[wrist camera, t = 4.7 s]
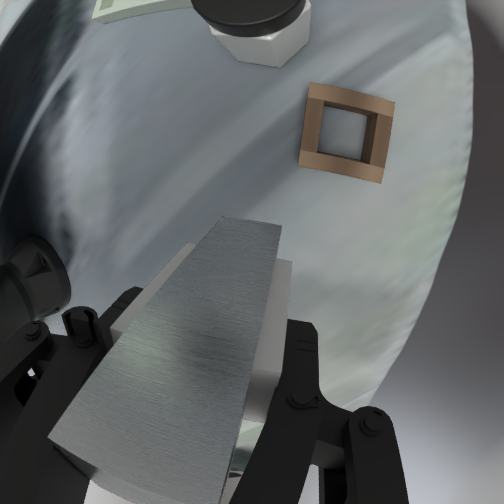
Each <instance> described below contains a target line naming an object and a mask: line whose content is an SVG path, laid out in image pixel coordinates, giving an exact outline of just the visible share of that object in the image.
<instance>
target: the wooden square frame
mask: <svg viewBox="0 0 504 504" xmlns="http://www.w3.org/2000/svg"><path fill="white" fill-rule="evenodd" d="M394 105H395V102H392V101H388V100H385V99H382V98H378V97H375V96H371V95H367V94H364V93H360V92H356V91H351V90H347V89H343V88H338V87H333V86H329V85H323V84H318V83H312V82H310V83H309V89H308V96H307V104H306V111H305V118H304V125H303V132H302V139H301V146H300V152H299V159H298V166H300V167H306V168H311V169H316V170H322V171H327V172H332V173H336V174H341V175H346V176H350V177H355V178H359V179H363V180H367V181H372V182H376V183H380V184H381V182H382V178H383V173H384V168H385V163H386V157H387V152H388V146H389V140H390V134H391V127H392V120H393V113H394ZM324 106H328V107H333V108H338V109H342V110H347V111H351V112H355V113H359V114H363V115H367V116H368V118H367V125H366V132H365V138H364V144H363V150H362V156H361V161H360V160H356V159H351V158H347V157H342V156H338V155H333V154H328V153H323V152H318V151H317V148H318V142H319V135H320V128H321V121H322V114H323V107H324Z"/></svg>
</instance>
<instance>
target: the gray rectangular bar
mask: <svg viewBox="0 0 504 504" xmlns="http://www.w3.org/2000/svg"><path fill="white" fill-rule="evenodd" d="M281 229H282V226H281V225H275V224H269V223H263V222H257V221H251V220H245V219H239V218H233V217H227V216H222V217H221V218H220V219H219V220H218V222H217V223H216V224H215V225H214V226H213V227H212V228H211V229H210V230H209V232H208V233H207V234H206V235H205V236H204V237H203V238H202V239H201V241H200V242H199V243H198V244H197V245H196V246H195V247H194V249H193V250H192V251H191V252H190V253H189V254H188V255H187V257H186V258H185V259H184V260H183V261H182V262H181V264H180V265H179V266H178V267H177V268H176V269H175V271H174V272H173V273H172V274H171V275H170V276H169V278H168V279H167V280H166V281H165V282H164V284H163V285H162V286H161V287H160V288H159V290H158V291H157V292H156V293H155V294H154V296H153V297H152V298H151V299H150V300H149V302H148V303H147V304H146V305H145V307H144V308H143V309H142V310H141V311H140V313H139V314H138V315H137V316H136V318H135V319H134V320H133V321H132V323H131V324H130V325H129V326H128V328H127V329H126V330H125V331H124V333H123V334H122V335H121V337H120V338H119V339H118V340H117V342H116V343H115V344H114V346H113V347H112V348H111V349H110V351H109V352H108V353H107V355H106V356H105V357H104V359H103V360H102V361H101V362H100V364H99V365H98V366H97V368H96V369H95V370H94V372H93V373H92V374H91V376H90V377H89V379H88V380H87V381H86V383H85V384H84V385H83V387H82V388H81V389H80V391H79V392H78V394H77V395H76V396H75V398H74V399H73V401H72V402H71V403H70V405H69V406H68V408H67V409H66V411H65V412H64V413H63V415H62V416H61V418H60V419H59V421H58V422H57V424H56V425H55V426H54V428H53V429H52V431H51V432H50V434H49V435H48V438H49V440H50V441H51V442H52V443H53V444H54V445H55V446H56V447H57V448H58V449H59V450H60V451H61V452H62V453H63V454H64V455H65V456H66V457H67V458H68V459H69V460H70V461H71V462H72V463H73V464H74V465H75V466H76V467H77V468H78V469H79V470H80V471H82V472H83V473H84V474H85V475H86V476H87V477H88V478H90V479H91V480H92V481H93V482H94V483H95V484H97V485H98V486H99V487H101V488H103V489H105V490H107V491H109V492H111V493H113V494H115V495H117V496H119V497H122V498H124V499H126V500H128V501H131V502H133V503H135V504H221V502H222V499H223V495H224V491H225V487H226V483H227V479H228V476H229V472H230V468H231V464H232V460H233V456H234V452H235V448H236V444H237V440H238V436H239V431H240V427H241V423H242V418H243V413H244V408H245V403H246V398H247V393H248V388H249V383H250V378H251V373H252V368H253V363H254V359H255V354H256V350H257V345H258V341H259V336H260V332H261V327H262V322H263V318H264V313H265V308H266V304H267V299H268V294H269V289H270V284H271V280H272V275H273V270H274V265H275V260H276V258H277V252H278V246H279V241H280V235H281Z"/></svg>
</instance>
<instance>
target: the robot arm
mask: <svg viewBox="0 0 504 504" xmlns="http://www.w3.org/2000/svg"><path fill="white" fill-rule="evenodd" d="M196 245H197V244H193V243H187V244H186V245H185V246H184V247H183V248H182V249H181V250H180V251H179V252H178V253H177V254H176V255H175V256H174V257H173V258H172V259H171V260H170V261H169V262H168V264H167V265H166V266H165V267H164V268H163V269H162V270H161V271H160V272H159V273H158V274H157V275H156V276H155V277H154V279H153V280H152V281H151V282H150V283H149V284H148V285H147V286H146V287H145V288H144V289H143V288H139V287H133V288H131V289H129V290H127V291H125V292H124V293H123V294H122V295H121V296H120V297H119V298H118V299H117V301H115V302H114V303H113V304H112V306H111V307H109V308H108V309H107V310H106V311H105V312H104V313H103V314H102V316H101V317H100V318H99V319H98V315H97V312H96V311H95V310H94V309H92V308H89V307H84V306H78V307H73V308H71V309H69V310H67V311H65V312H64V313H63V314H62V315H61V316H62V319H63V322H64V325H65V328H66V331H67V334H68V336H64V335H57V334H51V333H50V331H49V328H48V326H47V325H46V324H45V323H44V322H42V321H36V320H38V319H41V318H44V317H47V316H49V315H52V314H55V313H58V312H59V311H61V310H62V309H63V308H64V307H65V306H66V305H67V304H68V303H69V300H70V294H71V292H70V284H69V280H68V276H67V274H66V271H65V269H64V266H63V264H62V262H61V261H60V259H59V257H58V256H57V254H56V253H55V251H54V250H53V249H52V248H51V246H50V245H49V244H48V243H47V242H45V241H44V240H43V239H41V238H39V237H37V236H30V237H28V238H26V239H25V240H23V241H21V242H20V243H19V244H18V245H17V247H16V248H15V249H14V250H13V252H12V253H11V254H10V255H9V257H8V258H7V259H6V261H5V262H4V263H3V264H2V265H0V504H84V500H85V496H86V492H87V488H88V485H89V482H90V478H88V477H87V476H86V475H85V474H84V473H83V472H82V471H80V470H79V469H78V468H77V467H76V466H75V465H74V464H73V463H72V462H71V461H70V460H69V459H68V458H67V457H66V456H65V455H64V454H63V453H62V452H61V451H60V450H59V449H58V448H57V447H56V446H55V445H54V444H53V443H52V442H51V441H50V440H49V438H48V435H49V434H50V432H51V431H52V429H53V428H54V426H55V425H56V424H57V422H58V421H59V419H60V418H61V416H62V415H63V413H64V412H65V411H66V409H67V408H68V406H69V405H70V403H71V402H72V401H73V399H74V398H75V396H76V395H77V394H78V392H79V391H80V389H81V388H82V387H83V385H84V384H85V383H86V381H87V380H88V379H89V377H90V376H91V374H92V373H93V372H94V370H95V369H96V368H97V366H98V365H99V364H100V362H101V361H102V360H103V359H104V357H105V356H106V355H107V353H108V352H109V351H110V349H111V348H112V347H113V346H114V344H115V343H116V342H117V340H118V339H119V338H120V337H121V335H122V334H123V333H124V331H125V330H126V329H127V328H128V326H129V325H130V324H131V323H132V321H133V320H134V319H135V318H136V316H137V315H138V314H139V313H140V311H141V310H142V309H143V308H144V307H145V305H146V304H147V303H148V302H149V300H150V299H151V298H152V297H153V296H154V294H155V293H156V292H157V291H158V290H159V288H160V287H161V286H162V285H163V284H164V282H165V281H166V280H167V279H168V278H169V276H170V275H171V274H172V273H173V272H174V271H175V269H176V268H177V267H178V266H179V265H180V264H181V262H182V261H183V260H184V259H185V258H186V257H187V255H188V254H189V253H190V252H191V251H192V250H193V249H194V247H195V246H196ZM291 270H292V261H288V260H282V259H277V258H276V260H275V265H274V270H273V275H272V280H271V284H270V289H269V294H268V299H267V304H266V308H265V313H264V318H263V322H262V327H261V332H260V336H259V341H258V345H257V350H256V354H255V359H254V363H253V368H252V373H251V378H250V383H249V388H248V393H247V398H246V403H245V408H244V413H243V418H242V419H244V420H249V421H254V422H260V423H265V424H264V427H263V429H262V431H261V434H260V436H259V439H258V441H257V443H256V446H255V448H254V450H253V453H252V455H251V457H250V459H249V462H248V464H247V466H246V468H245V470H244V473H243V475H242V477H241V479H240V481H239V483H238V486H237V488H236V490H235V492H234V494H233V496H232V498H231V500H230V502H229V504H298V502H299V499H300V495H301V493H302V490H303V486H304V483H305V480H306V477H307V473H308V469H309V466H310V463H311V464H314V465H317V466H318V467H319V504H409V501H408V494H407V488H406V483H405V477H404V472H403V467H402V462H401V458H400V453H399V448H398V444H397V440H396V436H395V431H394V427H393V423H392V421H391V419H390V417H389V416H388V415H387V414H386V413H385V412H384V411H383V410H381V409H378V408H376V407H371V406H366V407H361V408H359V409H357V410H356V411H354V412H350V411H348V410H345V409H342V408H339V407H337V406H335V405H333V404H331V403H330V402H328V401H327V400H326V399H325V398H324V396H323V395H322V393H321V391H320V388H319V361H318V333H317V331H316V329H315V327H314V326H313V324H312V323H310V322H303V321H297V320H291V319H287V317H288V306H289V295H290V283H291ZM31 368H32V369H33V371H34V373H35V375H33V376H29V374H28V373H27V372H28V371H29V370H30V369H31Z"/></svg>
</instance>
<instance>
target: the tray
mask: <svg viewBox="0 0 504 504" xmlns="http://www.w3.org/2000/svg"><path fill="white" fill-rule="evenodd" d="M189 7H193V5H192V3H191V0H97V2H96V6H95V9H94V12H93V16H92V19H93V20H96V21H98V22H101V23H104V24H107V23H110V22H114V21H117V20H121V19H125V18H130V17H134V16H138V15H143V14H148V13H154V12H159V11H166V10H172V9H180V8H189Z"/></svg>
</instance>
